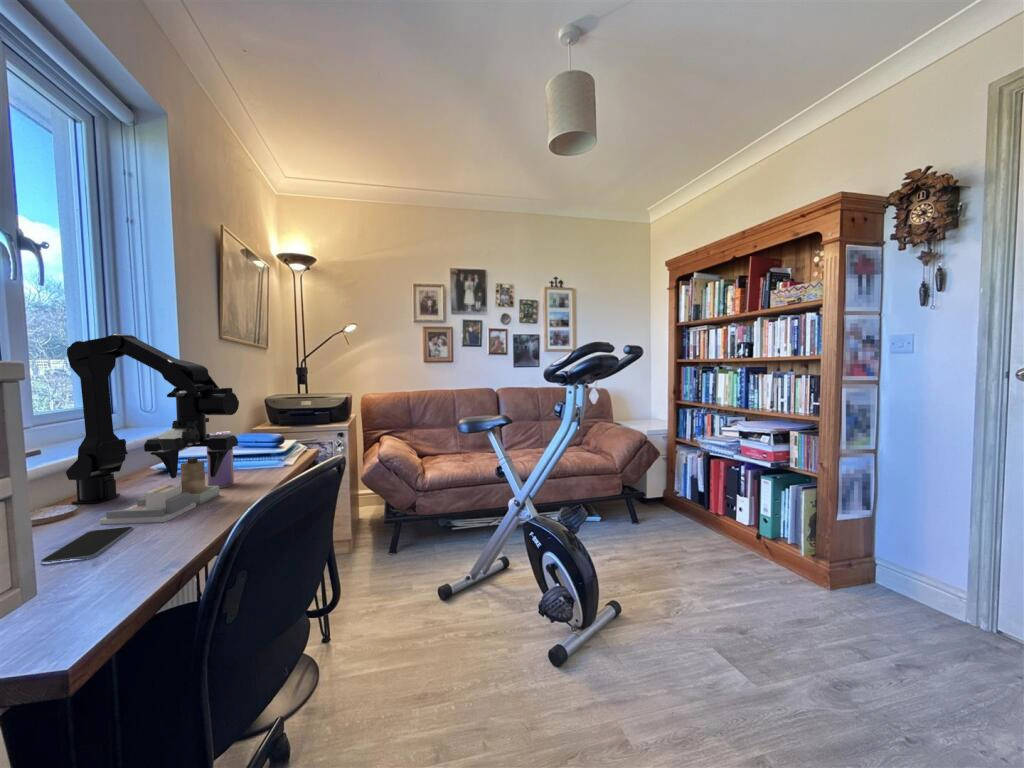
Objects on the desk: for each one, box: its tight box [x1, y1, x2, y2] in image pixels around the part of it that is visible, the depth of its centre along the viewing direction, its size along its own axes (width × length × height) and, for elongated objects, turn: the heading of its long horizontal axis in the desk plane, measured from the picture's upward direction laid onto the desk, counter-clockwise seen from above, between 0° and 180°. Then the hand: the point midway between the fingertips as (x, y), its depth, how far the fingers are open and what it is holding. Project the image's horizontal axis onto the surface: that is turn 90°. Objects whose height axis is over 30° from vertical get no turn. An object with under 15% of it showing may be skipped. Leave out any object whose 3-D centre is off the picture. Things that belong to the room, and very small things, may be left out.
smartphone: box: [40, 526, 133, 563], centre depth 79 cm, size 7×1×15 cm
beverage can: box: [206, 430, 235, 489], centre depth 117 cm, size 6×6×15 cm
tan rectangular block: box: [180, 456, 206, 494], centre depth 104 cm, size 3×3×10 cm
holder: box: [181, 485, 220, 506], centre depth 105 cm, size 8×8×2 cm
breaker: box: [145, 484, 182, 512], centre depth 94 cm, size 4×5×5 cm
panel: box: [99, 492, 197, 525], centre depth 94 cm, size 13×10×4 cm
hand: (193, 477), depth 104 cm, fingers open, 9 cm apart
